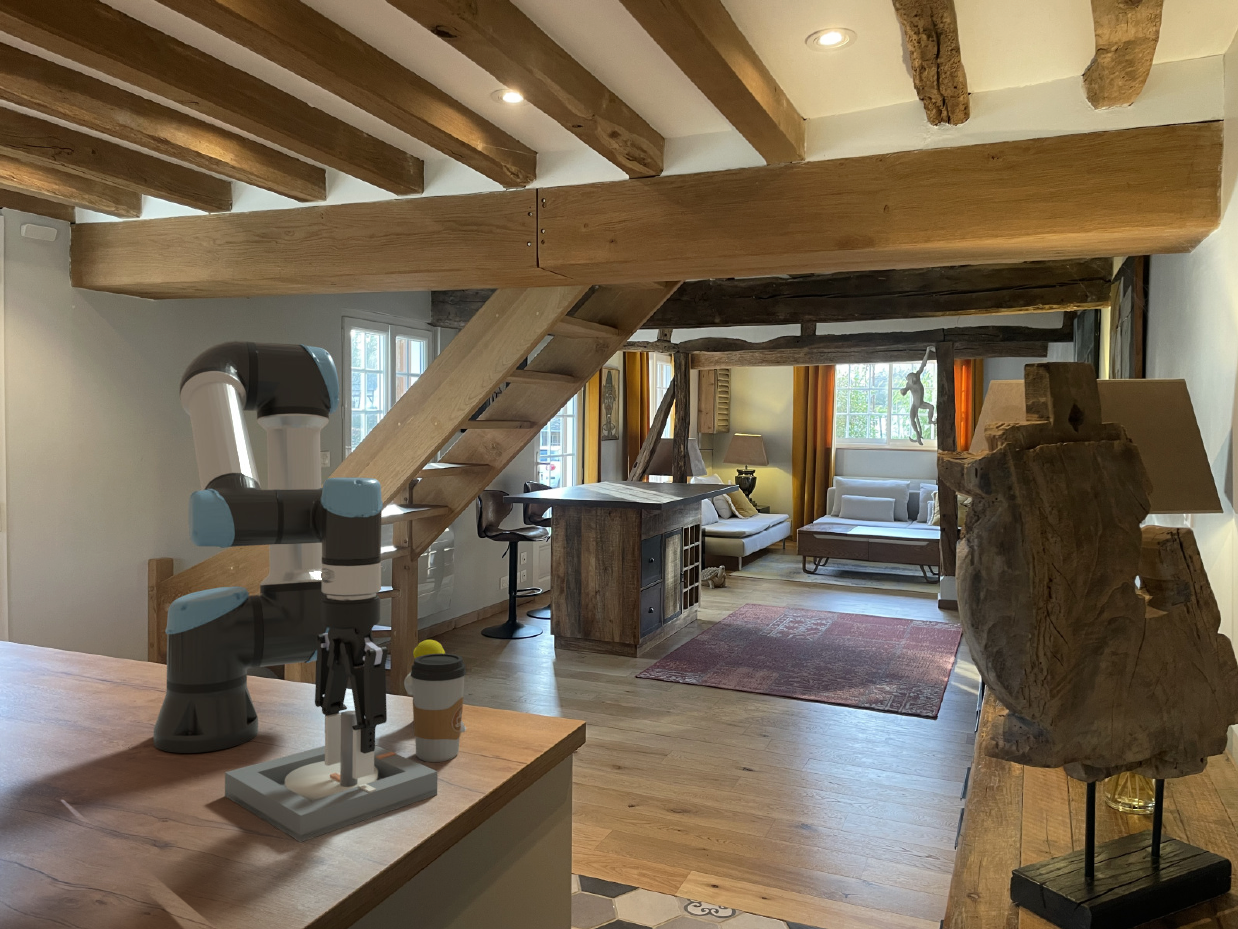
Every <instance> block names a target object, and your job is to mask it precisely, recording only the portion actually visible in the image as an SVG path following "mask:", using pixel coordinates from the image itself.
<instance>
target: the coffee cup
mask: <svg viewBox="0 0 1238 929" xmlns="http://www.w3.org/2000/svg"><path fill="white" fill-rule="evenodd" d="M463 658H464V657H462V656H461V655H458V654H456V653H455V654H454V653H445V654H443V653H441V654H428V655H422V656H419V657H417V658H414V661H413V664H412V666H411V671H412V672H411V671H410V672H411V677H412V686H413V695H412V712H413V716H414V722H413V729H414V740H415V741H414V743H415V755H416V756H417V757H418V759H420V760H422V761H424V762H429V763H430V762H431V763H440V762H446V761H450V760H452V759H454V758H455V757H456V756H457V755H458V754H459V751H460V750H459V748H460V738H461V721H462V720H463V719H462V718H463V706H464V686H465V676H466V674H467V672H466V664H465V663H464V660H463ZM462 722H463V721H462Z"/></svg>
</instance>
